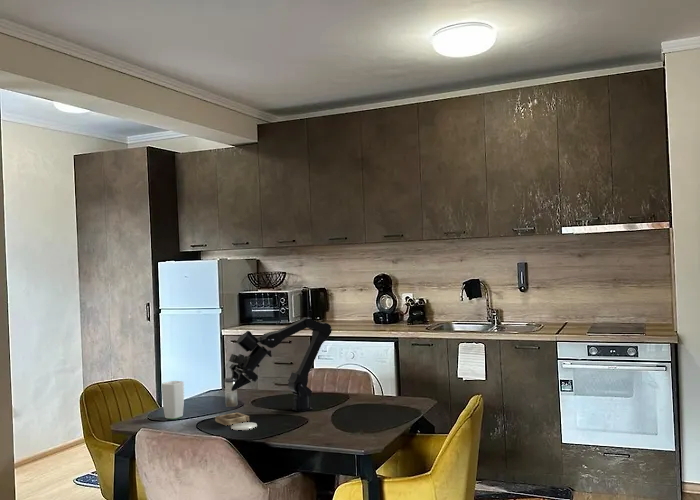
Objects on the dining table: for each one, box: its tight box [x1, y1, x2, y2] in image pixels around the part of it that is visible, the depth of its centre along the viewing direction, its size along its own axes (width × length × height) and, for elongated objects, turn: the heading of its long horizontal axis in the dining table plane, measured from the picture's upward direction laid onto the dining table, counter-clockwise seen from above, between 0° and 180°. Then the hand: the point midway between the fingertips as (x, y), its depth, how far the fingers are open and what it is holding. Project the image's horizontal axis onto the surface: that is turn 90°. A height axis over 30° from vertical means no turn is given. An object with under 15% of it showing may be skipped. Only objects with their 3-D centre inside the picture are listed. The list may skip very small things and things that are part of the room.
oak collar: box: [214, 412, 250, 427], centre depth 260 cm, size 10×10×2 cm
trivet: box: [230, 421, 258, 431], centre depth 250 cm, size 10×10×1 cm
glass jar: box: [224, 376, 238, 408], centre depth 260 cm, size 5×5×11 cm
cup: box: [161, 380, 185, 420], centre depth 270 cm, size 7×7×15 cm
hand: (230, 389), depth 260 cm, fingers closed on glass jar, 5 cm apart
